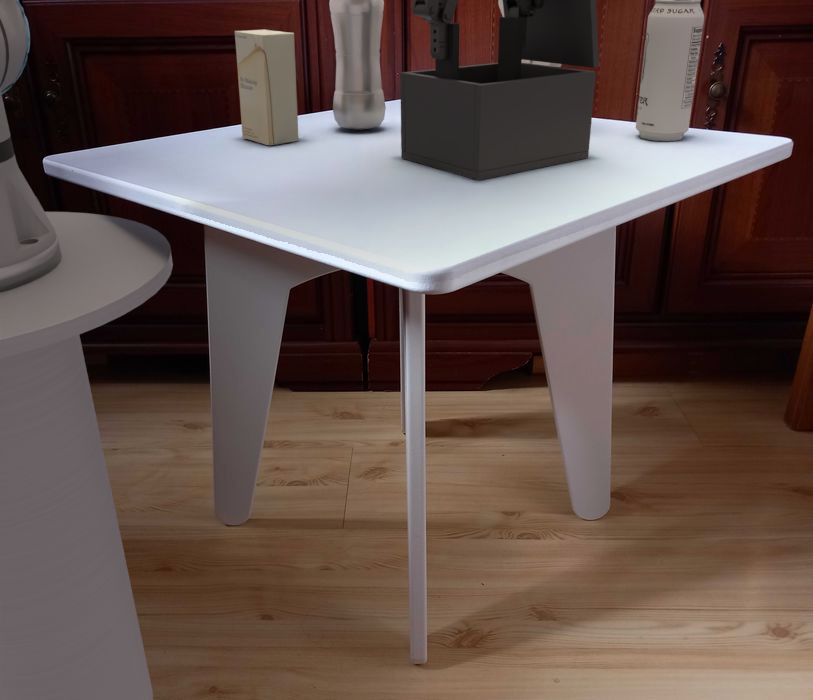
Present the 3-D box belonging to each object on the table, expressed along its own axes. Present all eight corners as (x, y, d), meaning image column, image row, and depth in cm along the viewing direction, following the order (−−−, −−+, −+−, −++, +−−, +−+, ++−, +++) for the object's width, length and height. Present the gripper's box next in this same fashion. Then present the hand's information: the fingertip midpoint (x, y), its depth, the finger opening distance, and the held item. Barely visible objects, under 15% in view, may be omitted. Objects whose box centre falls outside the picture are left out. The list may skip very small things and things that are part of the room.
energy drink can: (638, 130, 99) (653, -2, 93) (689, 133, 97) (708, -2, 91) (631, 140, 94) (646, 0, 88) (684, 143, 92) (704, 1, 86)
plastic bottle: (349, 123, 106) (342, -47, 97) (395, 126, 103) (392, -47, 94) (323, 131, 101) (314, -47, 92) (371, 135, 98) (366, -48, 89)
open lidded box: (478, 180, 78) (481, 85, 74) (401, 158, 87) (400, 72, 83) (588, 158, 86) (596, 71, 82) (507, 139, 95) (510, 61, 91)
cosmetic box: (241, 139, 97) (231, 30, 92) (272, 133, 100) (264, 28, 94) (270, 146, 93) (261, 33, 87) (302, 141, 95) (295, 31, 90)
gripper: (419, -192, 64) (421, 105, 74) (594, -175, 74) (575, 82, 85) (365, -180, 69) (374, 95, 79) (537, -165, 80) (525, 75, 90)
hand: (478, 88), depth 82 cm, fingers open, 8 cm apart
